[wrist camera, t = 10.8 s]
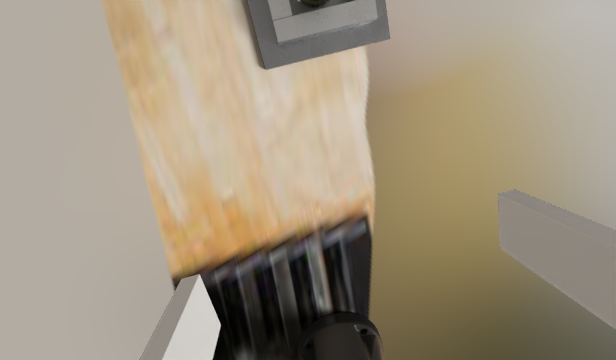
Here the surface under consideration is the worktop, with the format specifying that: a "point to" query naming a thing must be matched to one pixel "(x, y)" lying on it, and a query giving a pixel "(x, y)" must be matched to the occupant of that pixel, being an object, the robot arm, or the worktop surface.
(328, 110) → the worktop surface
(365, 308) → the worktop surface
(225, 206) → the worktop surface
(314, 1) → the beer can
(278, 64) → the square frame
